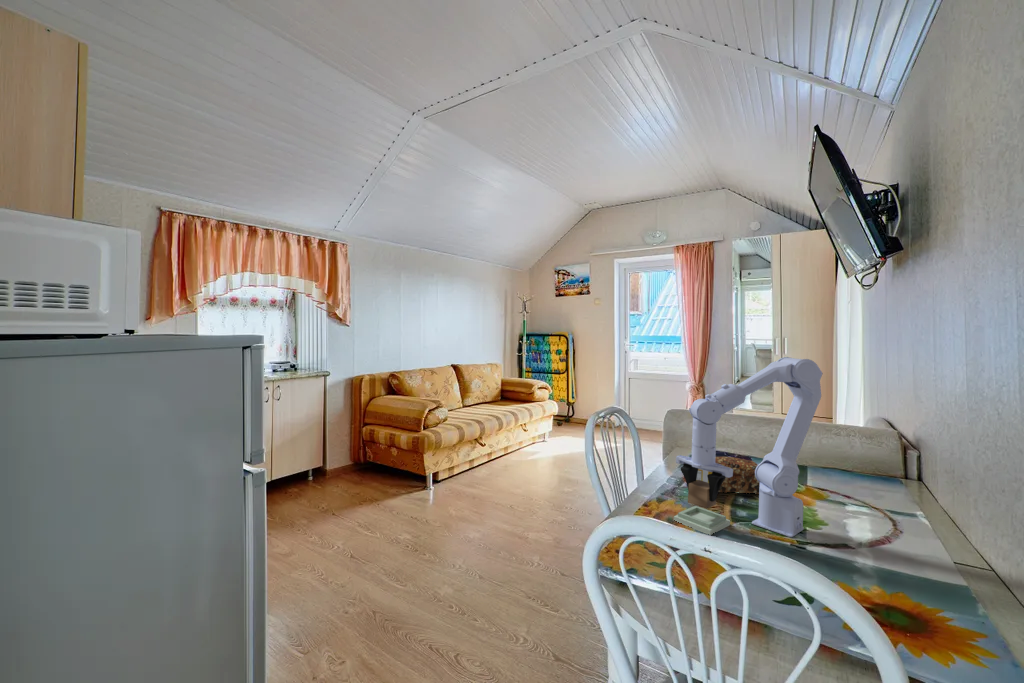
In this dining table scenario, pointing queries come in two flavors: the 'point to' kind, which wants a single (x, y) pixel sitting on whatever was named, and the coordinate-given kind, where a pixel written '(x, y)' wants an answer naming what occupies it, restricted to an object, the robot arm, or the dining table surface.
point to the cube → (699, 494)
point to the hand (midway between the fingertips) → (702, 497)
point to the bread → (739, 475)
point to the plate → (702, 520)
